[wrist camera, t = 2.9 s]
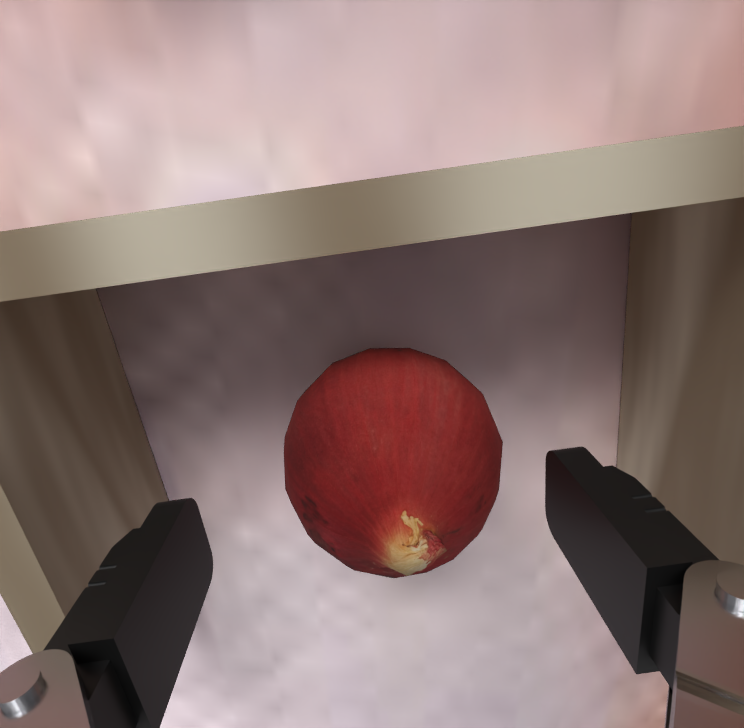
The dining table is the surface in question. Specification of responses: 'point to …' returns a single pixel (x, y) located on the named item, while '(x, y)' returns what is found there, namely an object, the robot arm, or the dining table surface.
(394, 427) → the onion
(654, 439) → the wooden plank arch
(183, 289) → the dining table surface
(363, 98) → the dining table surface
